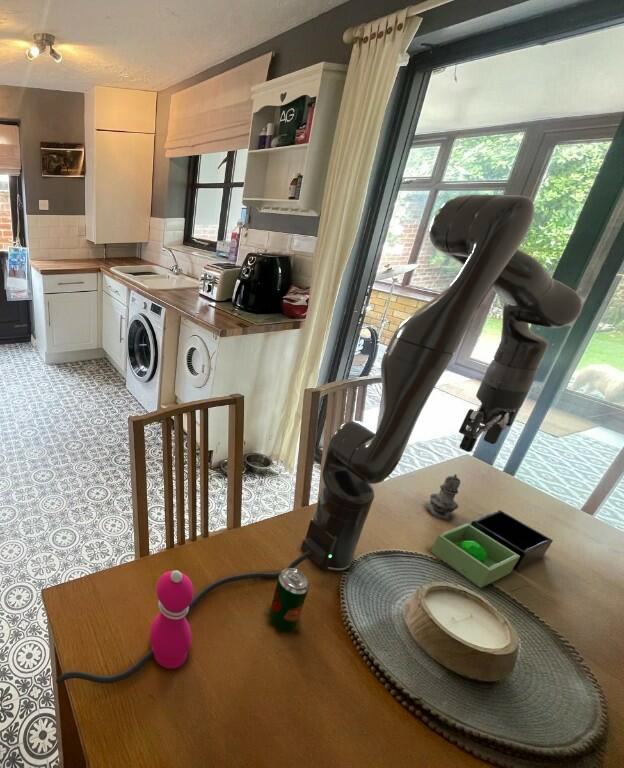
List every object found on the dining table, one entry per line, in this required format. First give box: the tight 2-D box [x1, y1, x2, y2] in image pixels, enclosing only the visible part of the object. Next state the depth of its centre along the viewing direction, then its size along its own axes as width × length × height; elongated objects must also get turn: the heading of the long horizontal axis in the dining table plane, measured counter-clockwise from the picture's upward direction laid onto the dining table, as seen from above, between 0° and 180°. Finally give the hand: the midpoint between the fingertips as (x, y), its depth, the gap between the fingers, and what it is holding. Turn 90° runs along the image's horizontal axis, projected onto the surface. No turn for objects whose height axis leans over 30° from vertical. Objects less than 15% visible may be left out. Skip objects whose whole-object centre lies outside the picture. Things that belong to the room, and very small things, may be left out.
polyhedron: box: [458, 541, 487, 563], centre depth 90 cm, size 5×5×5 cm
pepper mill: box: [149, 570, 195, 670], centre depth 69 cm, size 7×7×20 cm
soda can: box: [268, 567, 309, 633], centre depth 76 cm, size 5×5×12 cm
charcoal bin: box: [470, 509, 554, 571], centre depth 94 cm, size 10×10×5 cm
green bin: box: [430, 523, 520, 589], centre depth 90 cm, size 10×10×5 cm
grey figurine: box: [426, 474, 462, 520], centre depth 103 cm, size 6×6×12 cm
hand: (477, 446), depth 94 cm, fingers open, 8 cm apart
